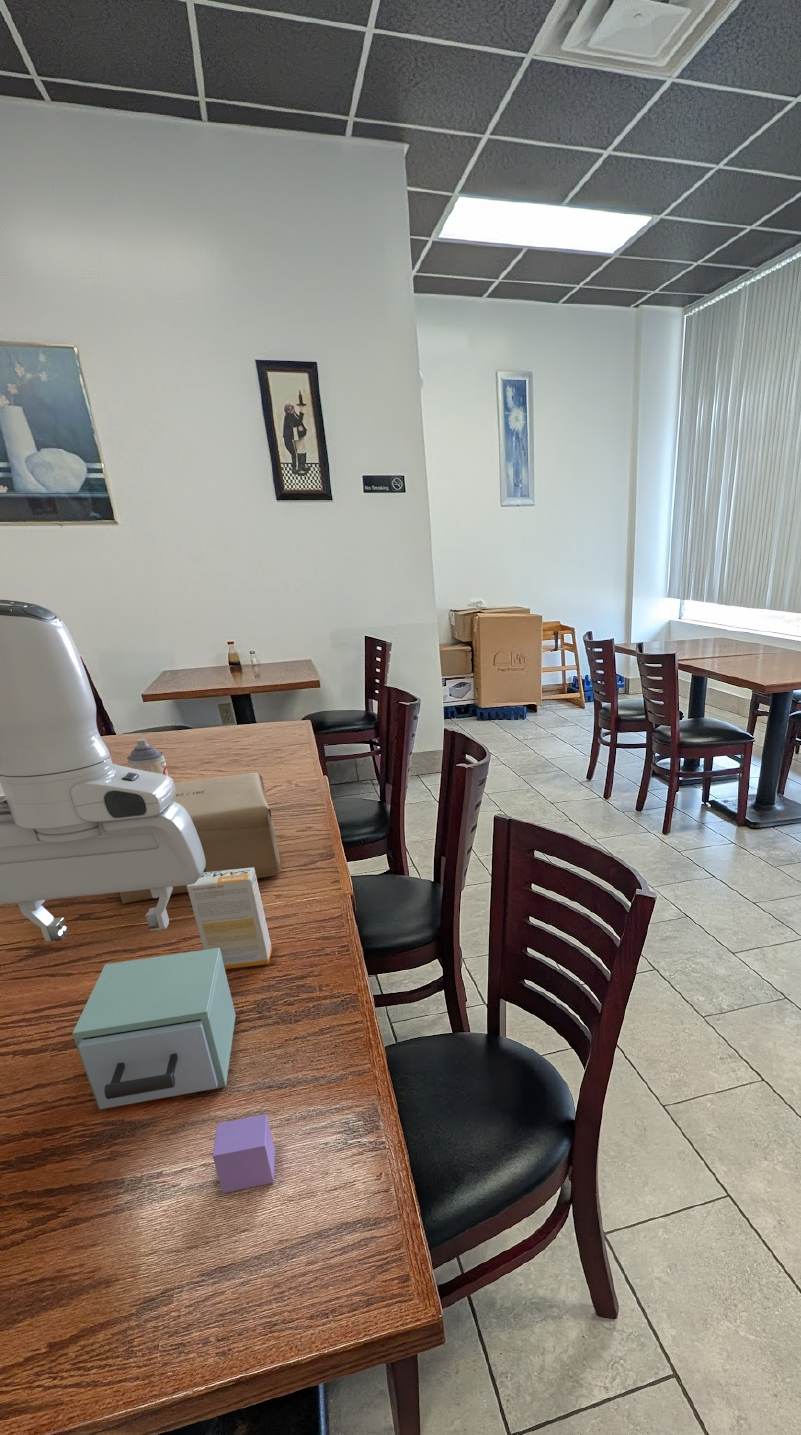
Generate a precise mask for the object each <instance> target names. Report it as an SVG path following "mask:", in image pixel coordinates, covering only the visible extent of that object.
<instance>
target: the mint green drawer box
mask: <svg viewBox="0 0 801 1435" xmlns="http://www.w3.org/2000/svg"><path fill="white" fill-rule="evenodd" d="M236 1016H237V1015H236V1011H235V1006H234V1002H233V998H232V994H231V989H230V986H229V981H228V976H227V972H226V969H225V968H224V964H223V960H222V955H221V951H220V948H214V949H207V950H204V949H201V950H194V951H188V952H181V953H180V952H179V953H173V954H165V955H159V956H152V957H147V958H146V957H145V958H144V957H143V958H138V959H131V960H130V959H129V960H124V961H117V962H110V963H105V964H104V965H103V968H102V970H101V972H100V974H99V977H98V978H97V981H96V983H95V985H94V986H93V989H92V991H91V993H90V996H89V998H88V999H87V1001H86V1004H85V1005H84V1008H83V1010H82V1012H81V1014H80V1016H79V1018H78V1019H77V1020H78V1021H77V1023H76V1025H75V1027H74V1029H73V1031H72V1033H71V1035H72V1037H73V1040H74V1043H75V1046H76V1048H77V1051H78V1054H79V1057H80V1059H81V1062H82V1066H83V1068H84V1071H85V1074H86V1076H87V1079H88V1082H89V1085H90V1088H91V1090H92V1091H91V1092H92V1093H93V1096H94V1099H95V1102H96V1105H97V1109H98V1110H99V1111H100V1110H102V1109H100V1106H99V1104H98V1101H97V1098H96V1095H95V1092H94V1089H93V1087H92V1084H91V1081H90V1078H89V1075H88V1072H87V1070H86V1067H85V1064H84V1061H83V1058H82V1056H81V1053H80V1050H79V1044H80V1042H81V1040H85V1039H91V1038H94V1036H101V1035H107V1034H113V1033H119V1032H125V1031H131V1030H138V1029H144V1028H150V1027H156V1026H162V1025H169V1024H175V1023H181V1022H187V1021H193V1020H199V1019H201V1021H203V1025H204V1029H205V1032H206V1036H207V1040H208V1044H209V1048H210V1052H211V1055H212V1059H213V1063H214V1067H215V1071H216V1075H217V1078H218V1086H217V1088H214V1089H213V1090H216V1089H222V1088H226V1087H227V1082H228V1074H229V1069H230V1068H229V1066H230V1059H231V1053H232V1044H233V1038H234V1030H235V1022H236ZM211 1090H212V1089H209V1090H208V1091H211ZM205 1091H207V1090H203V1091H202V1092H205ZM199 1092H201V1091H198V1092H197V1093H199ZM194 1093H195V1092H192V1093H191V1094H194ZM187 1094H188V1095H189V1094H190V1093H187ZM187 1094H186V1095H187ZM182 1095H184V1094H181V1095H180V1096H182ZM177 1096H179V1095H176V1096H175V1097H177ZM172 1097H173V1096H170V1097H169V1098H172ZM166 1098H168V1097H164V1098H163V1099H166ZM160 1099H162V1098H159V1099H158V1100H160ZM155 1100H157V1099H153V1100H152V1101H155ZM150 1101H151V1100H148V1101H147V1102H150ZM144 1102H146V1101H142V1102H141V1103H144ZM137 1103H139V1104H140V1102H137ZM137 1103H136V1104H137ZM133 1104H135V1103H131V1104H130V1105H133ZM128 1105H129V1104H126V1105H125V1106H128ZM122 1106H124V1105H120V1106H119V1107H122ZM116 1107H118V1106H115V1107H114V1108H116ZM110 1108H113V1107H109V1108H108V1109H110ZM105 1109H107V1108H104V1109H103V1110H105Z"/></svg>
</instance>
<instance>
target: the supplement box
mask: <svg viewBox="0 0 801 1435" xmlns="http://www.w3.org/2000/svg"><path fill="white" fill-rule="evenodd" d="M187 889H188V892H187V893H188V896H189V899H190V902H191V907H192V911H193V915H194V919H195V922H196V926H197V931H198V933H199V938H200V941H201V945H202V950H207V949H214V948H220V951H221V955H222V960H223V964H224V968H225V970H231V969H238V968H247V967H255V966H263V965H264V966H265V965H269V963H270V960H271V959H270V958H271V954H272V950H273V948H272V942H271V938H270V934H269V929H268V924H267V921H266V914H265V911H264V906H263V902H262V897H261V892H260V888H259V883H258V879H257V878H256V874H255V869H254V868H243V869H233V870H225V871H214V872H204V873H202V875H201V876H200V878H199V879H198V880H197V882H196V883H194V884H192V885H188V886H187Z"/></svg>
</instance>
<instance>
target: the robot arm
mask: <svg viewBox="0 0 801 1435" xmlns="http://www.w3.org/2000/svg"><path fill="white" fill-rule="evenodd" d="M97 724H98V723H97V704H96V700H95V697H94V694H93V691H92V687H91V684H90V681H89V678H88V675H87V672H86V668H85V666H84V664H83V660H82V658H81V655H80V653H79V650H78V648H77V645H76V643H75V640H74V639H73V636H72V635H71V632H70V631H69V629H68V627H67V626H66V624H65V623H64V620H62V619H61V618H60V616H58V615H57V614H56V613H54V612H53V611H51V610H50V609H48V608H47V607H46V608H45V607H43V606H41V605H38V604H35V603H31V602H24V601H18V600H11V599H0V785H1V789H2V791H3V794H4V797H5V800H0V905H11V904H17V906H18V908H19V911H20V913H21V914H22V915H23V916H24V917H26V919H28V920H29V921H30V922H32V923H33V924H34V925H35V926H37V927H38V928H40V931H41V933H42V935H43V939H44V941H45V942H47V943H51V942H58V941H59V942H60V941H64V940H65V938H66V937H68V936H69V930H68V927H67V926H66V921H65V918H64V917H54V916H53V915H52V914H51V913H50V912H49V911H48V910H47V909H46V908H45V907H44V906H43V904H44V903H45V902H46V901H48V900H49V901H50V900H57V899H67V898H77V897H86V896H87V897H88V896H96V895H97V896H98V895H107V894H114V893H120V892H126V891H135V890H145V889H150V891H151V894H152V898H151V899H158V900H157V904H156V906H154V907H150V908H149V909H148V911H147V912H146V914H145V916H144V917H145V919H146V920H145V921H146V922H147V923H148V925H147V926H148V929H149V930H150V931H158V930H166V929H167V928H168V926H169V924H170V918H169V915H168V911H167V906H168V904H169V900H170V899H171V896H172V895H171V893H172V890H173V887H174V886H183V885H192V884H194V883H196V882H197V880H198V879H199V878H200V876H201V875H202V873H203V871H204V869H205V865H206V861H205V856H204V852H203V849H202V845H201V842H200V839H199V836H198V834H197V831H196V828H195V826H194V824H193V821H192V819H191V817H190V815H189V814H188V812H187V811H186V810H185V808H184V807H183V806H181V805H180V804H178V803H176V802H174V801H172V800H173V798H174V795H175V792H176V789H175V785H174V783H175V781H174V779H173V778H172V777H171V776H170V775H169V776H167V775H163V774H159V773H153V772H148V771H143V770H138V769H133V768H129V767H128V766H124V765H119V764H116V763H113V760H112V756H111V753H110V750H109V748H108V746H107V744H106V743H105V742H104V740H103V738H102V737H101V734H100V731H99V729H98V725H97Z"/></svg>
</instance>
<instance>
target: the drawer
mask: <svg viewBox="0 0 801 1435" xmlns="http://www.w3.org/2000/svg"><path fill="white" fill-rule="evenodd" d="M79 1050H80V1053H81V1056H82V1058H83V1061H84V1064H85V1067H86V1070H87V1072H88V1075H89V1078H90V1081H91V1084H92V1087H93V1089H94V1092H95V1095H96V1098H97V1101H98V1104H99V1106H100V1109H101V1110H105V1109H104V1108H106V1109H110V1108H109V1107H112V1108H116V1107H115V1106H117V1107H121V1106H120V1105H123V1106H127V1105H126V1104H128V1105H132V1104H131V1103H134V1104H137V1102H139V1103H143V1102H142V1101H145V1102H149V1101H148V1100H150V1101H154V1100H153V1099H156V1100H160V1099H159V1098H161V1099H165V1098H164V1097H167V1098H171V1097H170V1096H172V1097H177V1096H176V1095H178V1096H182V1095H181V1094H183V1095H187V1093H189V1094H193V1093H192V1092H194V1093H199V1092H198V1091H200V1092H204V1091H203V1090H206V1091H210V1090H209V1089H211V1090H215V1089H214V1088H217V1086H218V1078H217V1075H216V1071H215V1067H214V1063H213V1059H212V1055H211V1052H210V1048H209V1044H208V1040H207V1036H206V1032H205V1029H204V1025H203V1021H201V1019H199V1020H193V1021H187V1022H181V1023H175V1024H169V1025H162V1026H156V1027H150V1028H144V1029H138V1030H131V1031H125V1032H119V1033H113V1034H107V1035H101V1036H94V1038H91V1039H85V1040H81V1042H80V1044H79ZM217 1089H218V1088H217Z"/></svg>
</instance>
